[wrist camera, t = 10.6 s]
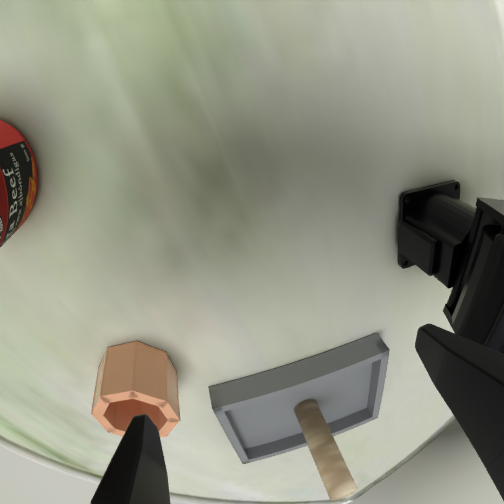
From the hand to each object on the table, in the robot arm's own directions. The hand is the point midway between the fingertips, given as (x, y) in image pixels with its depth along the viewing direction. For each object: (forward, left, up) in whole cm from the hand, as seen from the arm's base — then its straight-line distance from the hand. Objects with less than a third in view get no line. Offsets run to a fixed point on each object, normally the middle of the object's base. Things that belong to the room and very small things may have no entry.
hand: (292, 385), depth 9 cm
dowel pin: (-3, +20, -12) cm, 24 cm away
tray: (-3, +20, -13) cm, 24 cm away
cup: (+10, +10, -13) cm, 19 cm away
